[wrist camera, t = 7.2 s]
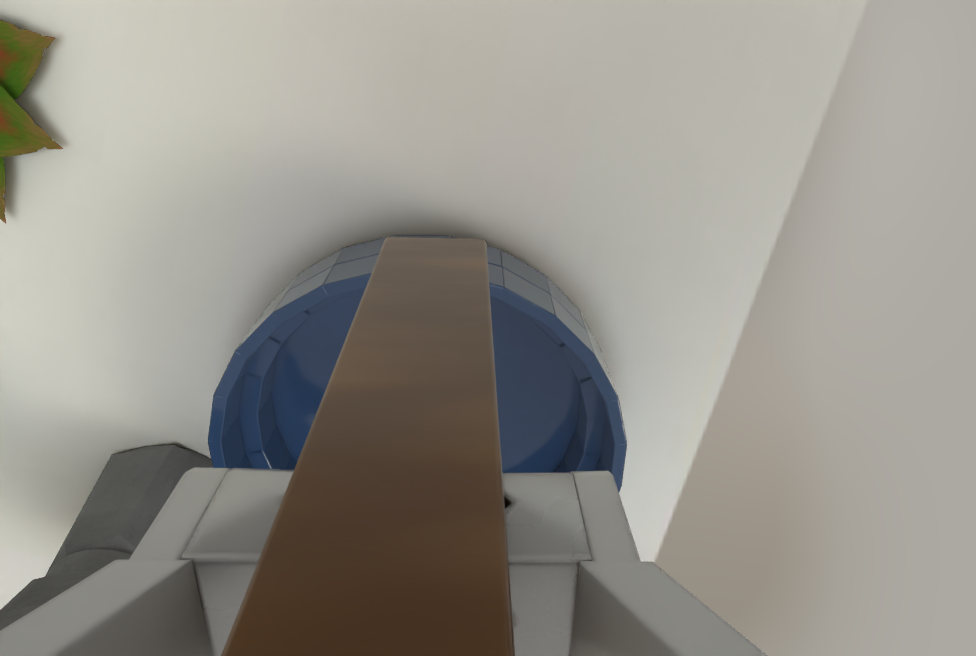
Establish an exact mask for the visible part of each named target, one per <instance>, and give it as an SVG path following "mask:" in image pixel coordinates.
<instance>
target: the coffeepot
mask: <svg viewBox="0 0 976 656" xmlns="http://www.w3.org/2000/svg"><path fill="white" fill-rule="evenodd" d="M192 468H213V465H212V460H211V459H209V458H207V457H206V456H203V455H201V454H198V453H196V452H193V451H191V450H187V449H183V448H179V447H177V446H175V445H158V446H145V447H141V448H137V449H133V450H130V451H128V452H125V453H118V454H112V455H111V457H110V459H109V461H108V463H107V464H106V466H105V468H104V470H103V472H102V473H101V475H100V477H99V479H98V481H97V482H96V484H95V486H94V488H93V490H92V491H91V493H90V495H89V497H88V499H87V501H86V503H85V504H84V506H83V508H82V510H81V512H80V514H79V515H78V517H77V519H76V521H75V523H74V524H73V526H72V528H71V530H70V532H69V534H68V535H67V537H66V539H65V541H64V543H63V544H62V546H61V548H60V550H59V552H58V554H57V555H56V557H55V559H54V561H53V563H52V565H51V566H50V568H49V570H48V572H47V574H46V576H45V577H43V578H39V579H35V580H32V581H31V582H30V583H29V584H28V585H27V586H26V587H25V588H24V589H23V590H21V591H20V592H19V593H18V594H17V595H16V596H15V597H14V598H13V599H12V600H11V601H10V602H9V603H8V604H6V605H5V606H4V607H3V608H2V609H1V610H0V631H1V630H2V629H4V628H5V627H7V626H9V625H10V624H12V623H14V622H15V621H17V620H18V619H20V618H22V617H23V616H25V615H27V614H28V613H30V612H31V611H33V610H35V609H36V608H38V607H40V606H41V605H43V604H45V603H46V602H48V601H49V600H51V599H53V598H54V597H56V596H58V595H59V594H61V593H62V592H64V591H66V590H67V589H69V588H71V587H72V586H74V585H75V584H77V583H79V582H80V581H82V580H84V579H85V578H87V577H88V576H90V575H92V574H93V573H95V572H97V571H98V570H100V569H102V568H103V567H105V566H106V565H108V564H110V563H111V562H113V561H115V560H129V559H130V557H131V555H132V554H133V552H134V551H135V549H136V548H137V546H138V545H139V543H140V541H141V540H142V538H143V537H144V535H145V534H146V532H147V531H148V529H149V527H150V526H151V524H152V523H153V521H154V520H155V518H156V517H157V515H158V513H159V512H160V510H161V509H162V507H163V506H164V504H165V502H166V501H167V499H168V498H169V496H170V495H171V493H172V492H173V490H174V488H175V487H176V485H177V484H178V482H179V481H180V479H181V478H182V476H183V474H184V473H185V472H187V471H188V470H190V469H192Z"/></svg>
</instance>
